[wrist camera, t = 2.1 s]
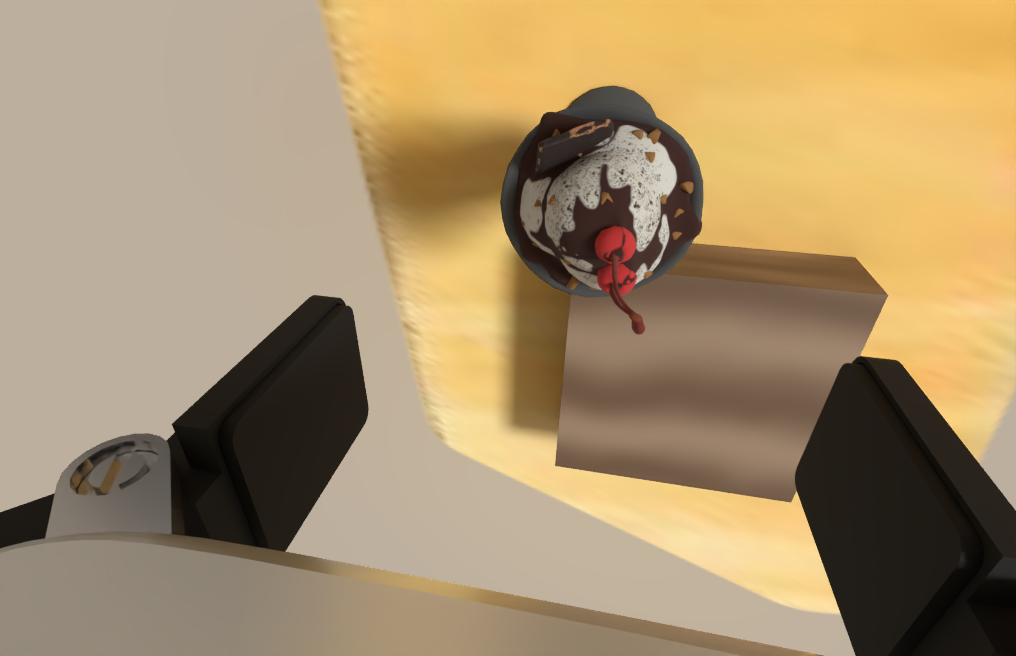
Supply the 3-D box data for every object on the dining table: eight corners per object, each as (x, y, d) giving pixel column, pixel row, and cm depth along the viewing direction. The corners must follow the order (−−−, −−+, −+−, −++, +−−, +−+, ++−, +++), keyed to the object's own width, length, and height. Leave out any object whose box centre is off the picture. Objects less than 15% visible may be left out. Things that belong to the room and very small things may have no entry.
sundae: (650, 220, 27) (668, 406, 15) (528, 185, 28) (447, 340, 15) (703, 87, 24) (785, 189, 11) (561, 49, 24) (490, 108, 12)
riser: (579, 233, 29) (573, 265, 25) (855, 257, 26) (888, 295, 23) (561, 422, 36) (555, 465, 33) (774, 453, 34) (791, 502, 31)
